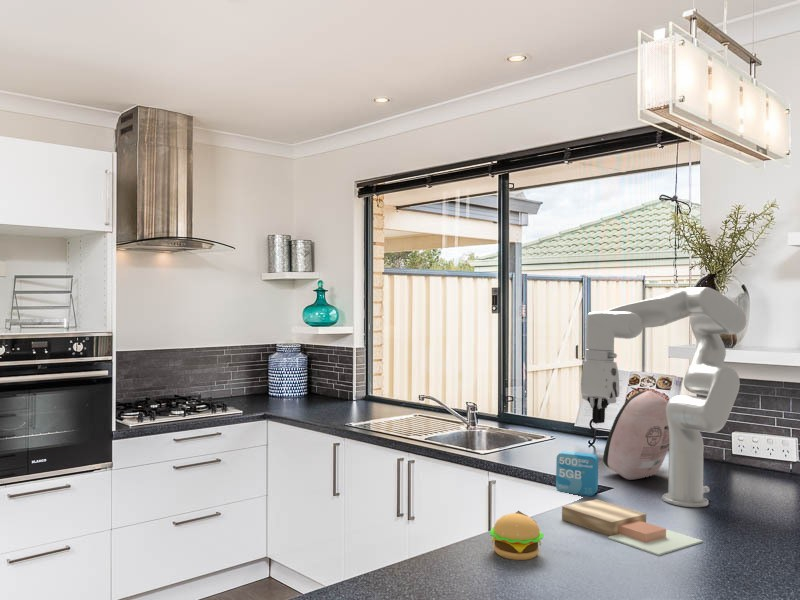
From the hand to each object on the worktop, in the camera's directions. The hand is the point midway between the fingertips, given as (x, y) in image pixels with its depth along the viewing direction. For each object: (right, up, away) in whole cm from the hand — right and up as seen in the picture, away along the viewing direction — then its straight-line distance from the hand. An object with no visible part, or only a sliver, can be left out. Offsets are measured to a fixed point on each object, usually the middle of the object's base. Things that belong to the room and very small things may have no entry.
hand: (598, 422), depth 190 cm
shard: (-25, -25, -10) cm, 37 cm away
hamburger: (-29, -24, -34) cm, 50 cm away
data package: (0, -26, +22) cm, 34 cm away
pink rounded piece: (+26, -27, +43) cm, 57 cm away
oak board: (-2, -25, -10) cm, 27 cm away
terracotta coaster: (+5, -25, -20) cm, 32 cm away
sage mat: (+7, -25, -22) cm, 34 cm away
